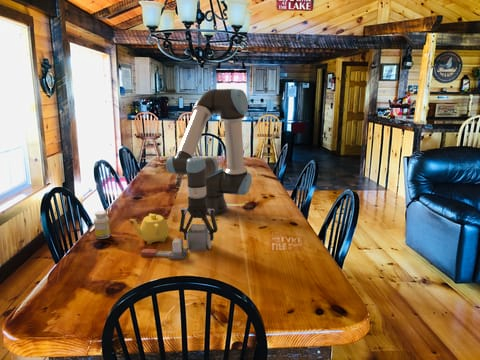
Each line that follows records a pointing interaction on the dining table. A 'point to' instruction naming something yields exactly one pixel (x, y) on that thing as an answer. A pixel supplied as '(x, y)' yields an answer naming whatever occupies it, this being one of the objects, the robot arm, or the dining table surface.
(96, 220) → the pill bottle
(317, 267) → the dining table surface
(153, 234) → the teapot
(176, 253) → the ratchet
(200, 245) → the rimmed grey cube
